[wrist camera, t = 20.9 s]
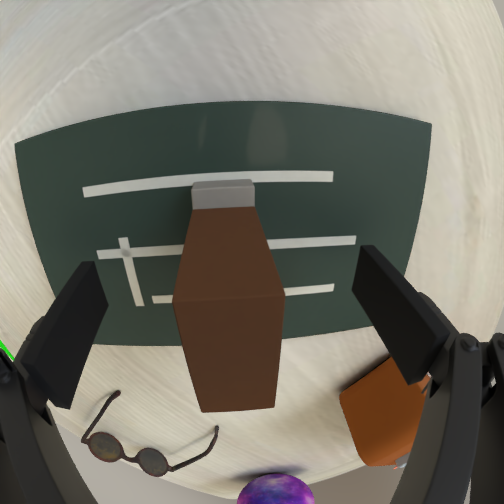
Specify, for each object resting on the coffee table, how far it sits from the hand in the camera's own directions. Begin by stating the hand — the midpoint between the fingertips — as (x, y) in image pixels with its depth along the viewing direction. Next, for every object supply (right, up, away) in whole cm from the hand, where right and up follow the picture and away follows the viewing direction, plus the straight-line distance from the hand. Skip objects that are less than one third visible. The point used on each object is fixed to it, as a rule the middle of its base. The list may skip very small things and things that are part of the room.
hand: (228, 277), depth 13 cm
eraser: (0, +1, +3) cm, 3 cm away
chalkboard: (-1, +2, +4) cm, 5 cm away
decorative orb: (+5, -44, +30) cm, 54 cm away
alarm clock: (+22, -18, +18) cm, 33 cm away
